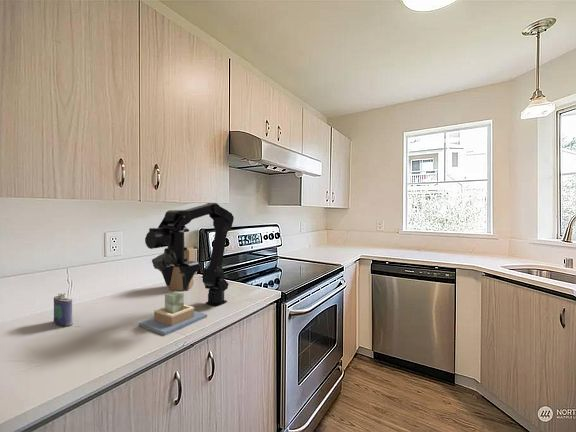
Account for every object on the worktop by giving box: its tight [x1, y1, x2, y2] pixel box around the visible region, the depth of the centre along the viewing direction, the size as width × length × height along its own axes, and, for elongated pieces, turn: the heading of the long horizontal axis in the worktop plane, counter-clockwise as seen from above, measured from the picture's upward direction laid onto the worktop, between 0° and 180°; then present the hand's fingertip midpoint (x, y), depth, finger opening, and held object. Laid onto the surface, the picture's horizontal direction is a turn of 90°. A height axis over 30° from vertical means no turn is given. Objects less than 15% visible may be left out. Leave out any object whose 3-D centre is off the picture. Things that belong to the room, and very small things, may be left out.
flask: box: [53, 293, 74, 327], centre depth 100 cm, size 9×3×11 cm, turn 63°
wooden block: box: [167, 246, 195, 291], centre depth 144 cm, size 10×10×20 cm
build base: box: [138, 303, 208, 336], centre depth 103 cm, size 18×14×5 cm
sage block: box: [164, 290, 185, 313], centre depth 103 cm, size 4×4×6 cm
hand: (176, 287), depth 104 cm, fingers open, 9 cm apart
